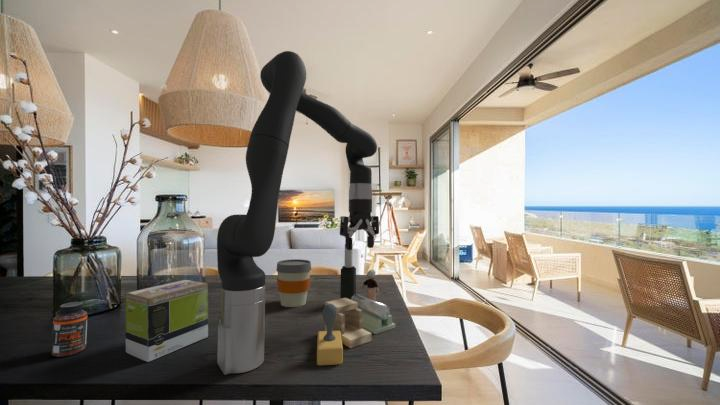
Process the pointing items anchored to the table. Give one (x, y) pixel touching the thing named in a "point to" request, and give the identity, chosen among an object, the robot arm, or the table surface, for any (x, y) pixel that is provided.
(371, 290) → the grandmother figurine
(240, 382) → the table surface
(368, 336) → the beige block
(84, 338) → the supplement bottle
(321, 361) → the rubber stamp
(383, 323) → the cradle
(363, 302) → the axle
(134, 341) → the tea box
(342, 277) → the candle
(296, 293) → the reusable coffee cup
